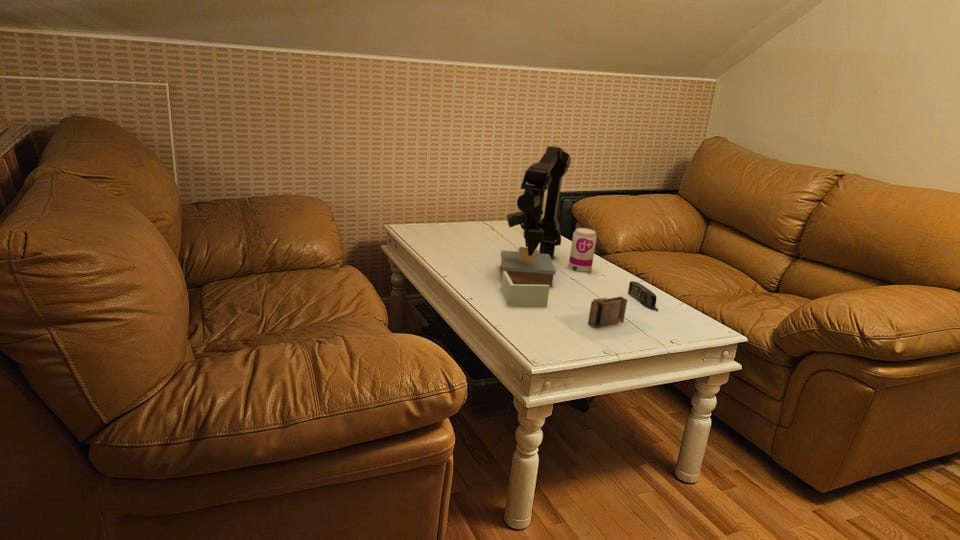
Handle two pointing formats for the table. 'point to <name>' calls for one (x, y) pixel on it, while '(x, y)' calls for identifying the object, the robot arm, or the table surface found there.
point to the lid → (527, 261)
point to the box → (529, 277)
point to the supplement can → (582, 250)
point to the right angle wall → (524, 293)
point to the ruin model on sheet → (607, 311)
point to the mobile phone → (642, 294)
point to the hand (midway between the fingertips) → (528, 251)
